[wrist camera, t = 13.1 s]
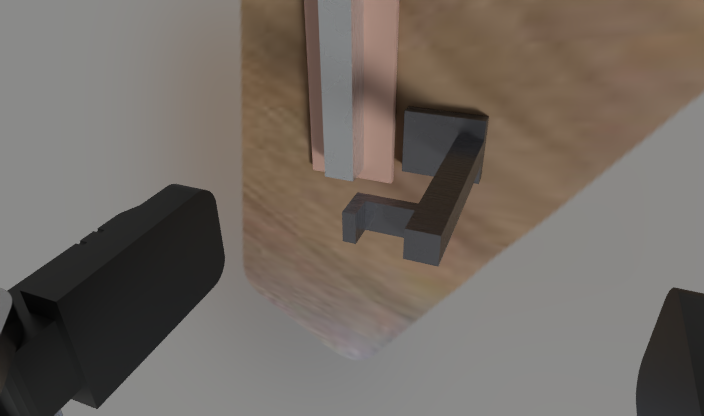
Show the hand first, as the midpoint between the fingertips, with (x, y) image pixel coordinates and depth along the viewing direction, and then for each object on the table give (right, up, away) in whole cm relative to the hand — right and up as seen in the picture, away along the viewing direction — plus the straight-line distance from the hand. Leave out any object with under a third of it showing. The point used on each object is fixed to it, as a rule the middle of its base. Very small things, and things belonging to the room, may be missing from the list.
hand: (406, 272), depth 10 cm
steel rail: (-1, +15, +29) cm, 32 cm away
